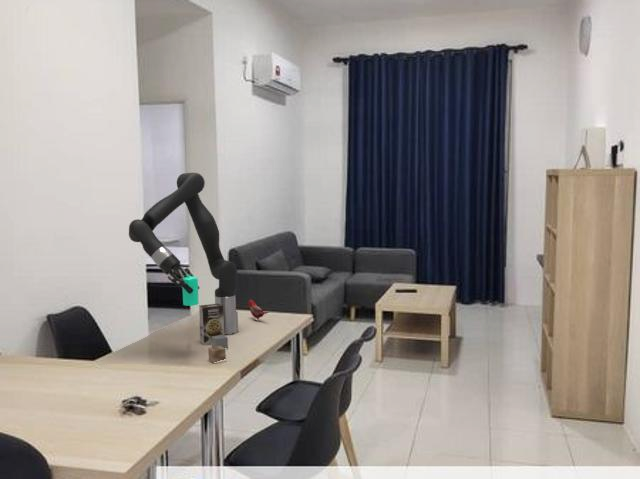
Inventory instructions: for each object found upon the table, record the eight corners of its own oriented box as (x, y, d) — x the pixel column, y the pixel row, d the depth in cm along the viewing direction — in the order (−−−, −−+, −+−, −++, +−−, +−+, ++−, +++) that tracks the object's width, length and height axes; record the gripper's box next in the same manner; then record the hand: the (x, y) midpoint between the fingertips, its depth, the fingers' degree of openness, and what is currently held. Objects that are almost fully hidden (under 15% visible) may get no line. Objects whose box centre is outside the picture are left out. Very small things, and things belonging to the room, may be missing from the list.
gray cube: (223, 346, 239) (222, 334, 239) (227, 349, 235) (227, 337, 235) (211, 348, 237) (211, 336, 236) (216, 351, 233) (215, 339, 232)
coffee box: (204, 345, 241) (202, 307, 239) (199, 341, 247) (198, 305, 245) (224, 342, 245) (223, 305, 243) (220, 338, 251) (219, 302, 249)
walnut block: (221, 358, 223) (220, 345, 223) (225, 361, 219) (225, 348, 218) (208, 360, 221) (208, 348, 220) (213, 364, 216) (212, 351, 216)
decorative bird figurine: (251, 318, 288) (250, 298, 287) (271, 324, 274) (270, 303, 273) (246, 318, 286) (245, 299, 285) (266, 325, 273) (265, 304, 272)
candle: (184, 302, 229) (183, 273, 228) (199, 302, 229) (198, 272, 228) (182, 305, 223) (180, 275, 222) (197, 305, 223) (196, 275, 222)
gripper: (162, 256, 219) (192, 288, 217) (180, 251, 233) (208, 281, 231) (150, 269, 221) (180, 301, 219) (168, 264, 234) (197, 293, 233)
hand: (194, 290), depth 225 cm, fingers closed on candle, 4 cm apart
